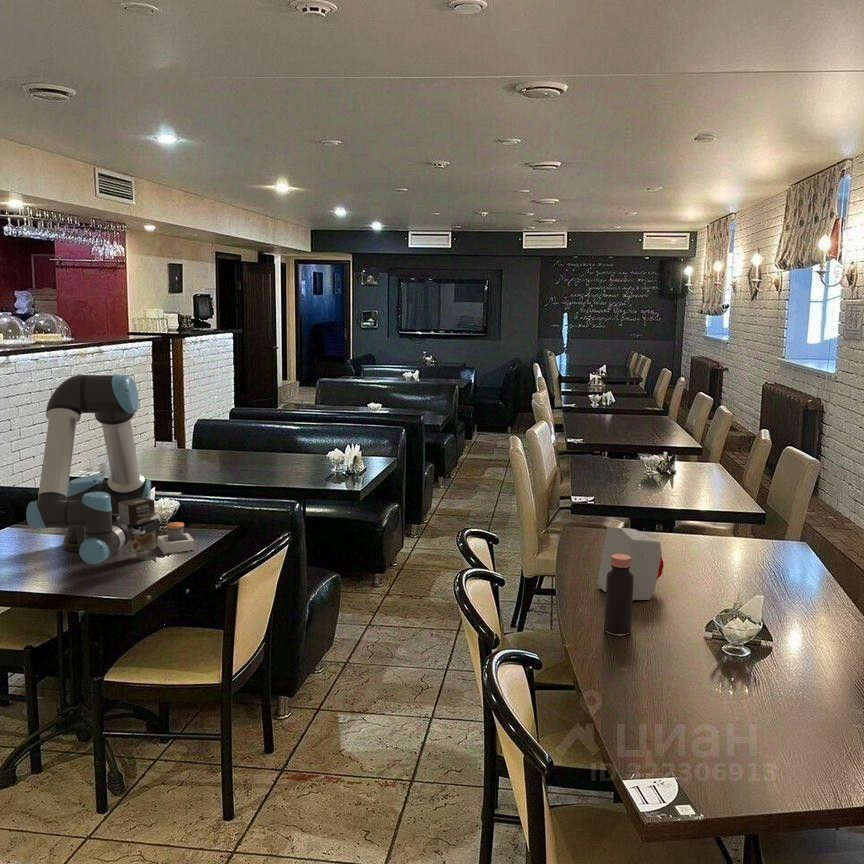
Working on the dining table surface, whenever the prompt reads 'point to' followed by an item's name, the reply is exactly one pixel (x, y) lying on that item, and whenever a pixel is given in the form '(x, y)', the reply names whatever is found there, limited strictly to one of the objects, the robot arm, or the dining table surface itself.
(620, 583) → the bottle
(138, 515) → the coffee box
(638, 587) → the electrical switch box
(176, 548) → the breaker housing
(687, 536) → the dining table surface
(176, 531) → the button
